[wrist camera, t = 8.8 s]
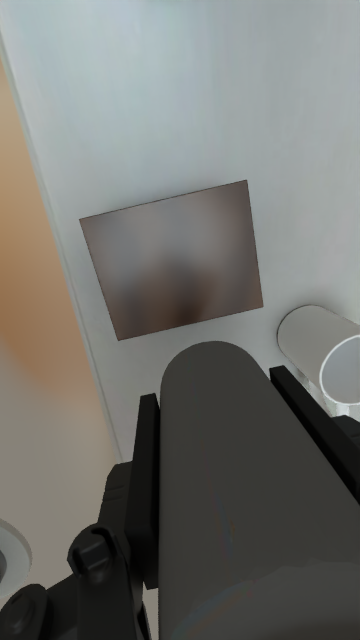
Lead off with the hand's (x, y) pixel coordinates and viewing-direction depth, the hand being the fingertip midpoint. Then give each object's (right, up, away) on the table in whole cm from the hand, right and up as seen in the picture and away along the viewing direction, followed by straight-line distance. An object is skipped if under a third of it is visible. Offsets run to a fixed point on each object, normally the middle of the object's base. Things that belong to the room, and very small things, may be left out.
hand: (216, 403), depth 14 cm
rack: (-3, +12, +18) cm, 22 cm away
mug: (+15, +1, +24) cm, 28 cm away
